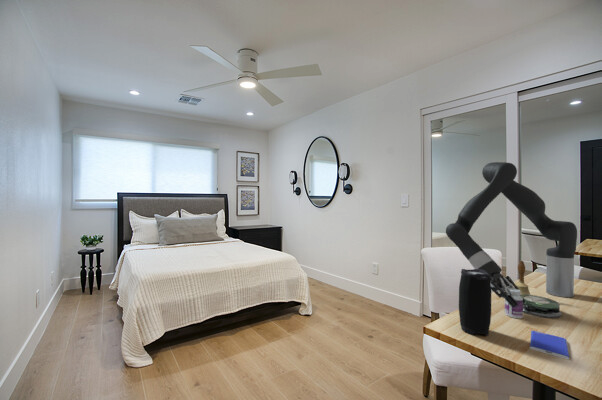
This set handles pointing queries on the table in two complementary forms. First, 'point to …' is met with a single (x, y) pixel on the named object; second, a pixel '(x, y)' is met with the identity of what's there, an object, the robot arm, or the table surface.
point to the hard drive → (549, 344)
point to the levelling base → (541, 306)
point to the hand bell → (522, 279)
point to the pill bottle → (518, 310)
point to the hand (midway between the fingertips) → (519, 304)
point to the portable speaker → (475, 301)
